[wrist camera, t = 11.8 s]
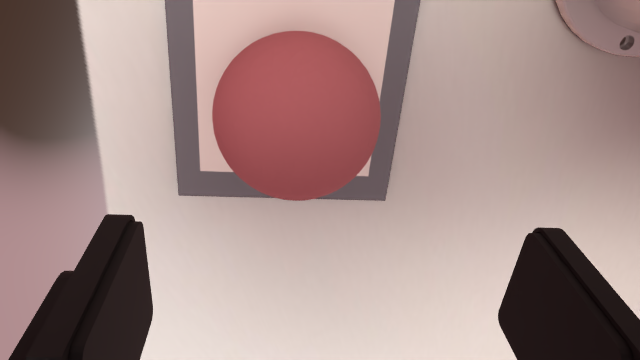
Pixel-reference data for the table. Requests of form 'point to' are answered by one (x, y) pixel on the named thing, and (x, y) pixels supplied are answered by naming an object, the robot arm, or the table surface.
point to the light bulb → (296, 115)
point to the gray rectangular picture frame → (260, 21)
